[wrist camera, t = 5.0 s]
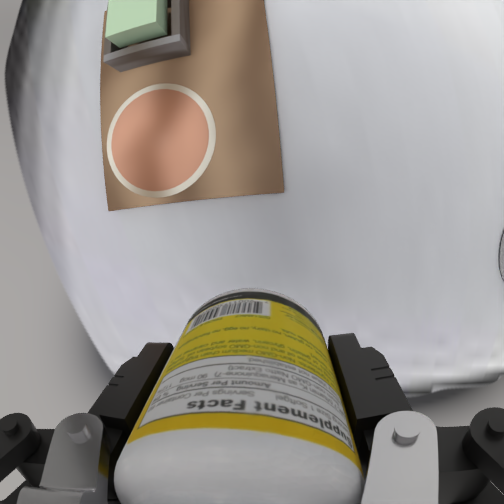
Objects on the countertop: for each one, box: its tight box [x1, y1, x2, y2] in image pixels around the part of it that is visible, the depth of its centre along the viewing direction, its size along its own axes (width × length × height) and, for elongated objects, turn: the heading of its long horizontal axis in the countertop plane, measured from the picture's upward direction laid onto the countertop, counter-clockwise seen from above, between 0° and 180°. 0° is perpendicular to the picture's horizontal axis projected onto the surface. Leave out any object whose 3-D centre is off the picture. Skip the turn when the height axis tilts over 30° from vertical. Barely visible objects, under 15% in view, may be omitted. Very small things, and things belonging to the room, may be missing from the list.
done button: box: [105, 0, 167, 48], centre depth 15 cm, size 4×4×2 cm
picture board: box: [100, 0, 284, 211], centre depth 19 cm, size 14×19×4 cm
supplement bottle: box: [114, 288, 364, 504], centre depth 6 cm, size 5×5×8 cm
